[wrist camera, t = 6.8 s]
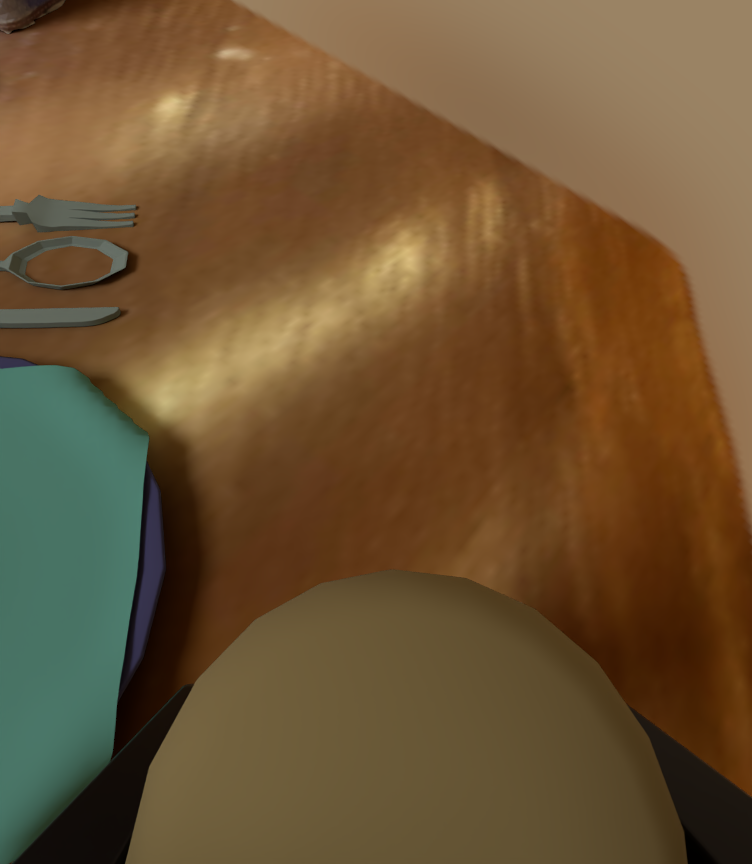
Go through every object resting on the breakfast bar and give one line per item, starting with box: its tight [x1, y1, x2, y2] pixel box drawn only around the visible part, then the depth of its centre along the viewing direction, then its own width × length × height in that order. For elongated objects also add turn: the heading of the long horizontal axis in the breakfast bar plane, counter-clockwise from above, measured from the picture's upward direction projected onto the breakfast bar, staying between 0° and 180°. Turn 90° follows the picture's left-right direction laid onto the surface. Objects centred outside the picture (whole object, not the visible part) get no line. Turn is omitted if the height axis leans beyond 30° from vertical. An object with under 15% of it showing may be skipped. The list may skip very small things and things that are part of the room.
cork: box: [125, 570, 688, 864], centre depth 9 cm, size 6×6×11 cm
